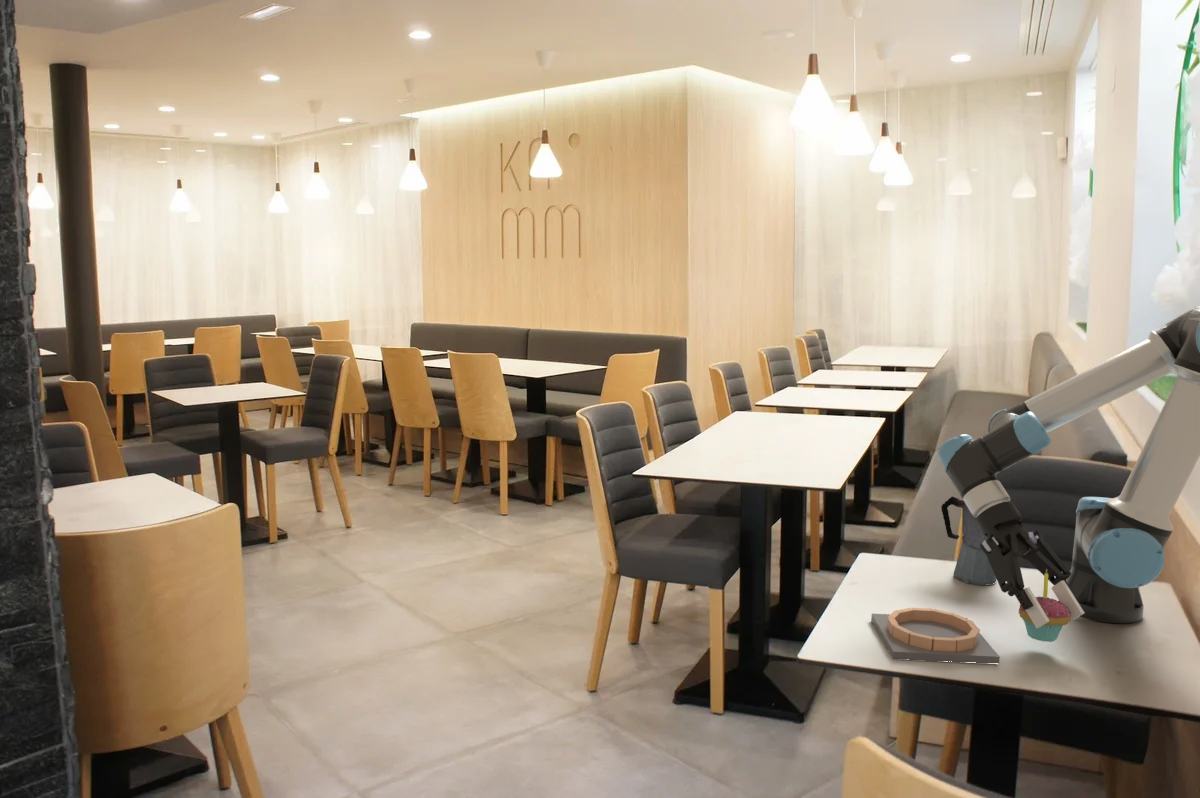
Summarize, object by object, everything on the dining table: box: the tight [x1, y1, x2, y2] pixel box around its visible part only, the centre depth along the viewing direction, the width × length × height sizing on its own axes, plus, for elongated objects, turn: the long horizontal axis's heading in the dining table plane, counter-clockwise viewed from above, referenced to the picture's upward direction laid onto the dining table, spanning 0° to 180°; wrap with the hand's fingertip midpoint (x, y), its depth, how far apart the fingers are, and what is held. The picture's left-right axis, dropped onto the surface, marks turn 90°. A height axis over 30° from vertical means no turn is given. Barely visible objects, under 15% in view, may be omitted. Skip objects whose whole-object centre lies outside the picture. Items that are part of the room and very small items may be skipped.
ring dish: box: [870, 607, 1001, 664], centre depth 173 cm, size 18×18×4 cm
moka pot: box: [940, 496, 997, 586], centre depth 207 cm, size 10×15×20 cm, turn 78°
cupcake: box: [1018, 569, 1072, 642], centre depth 169 cm, size 9×8×12 cm
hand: (1060, 620), depth 166 cm, fingers closed on cupcake, 8 cm apart
